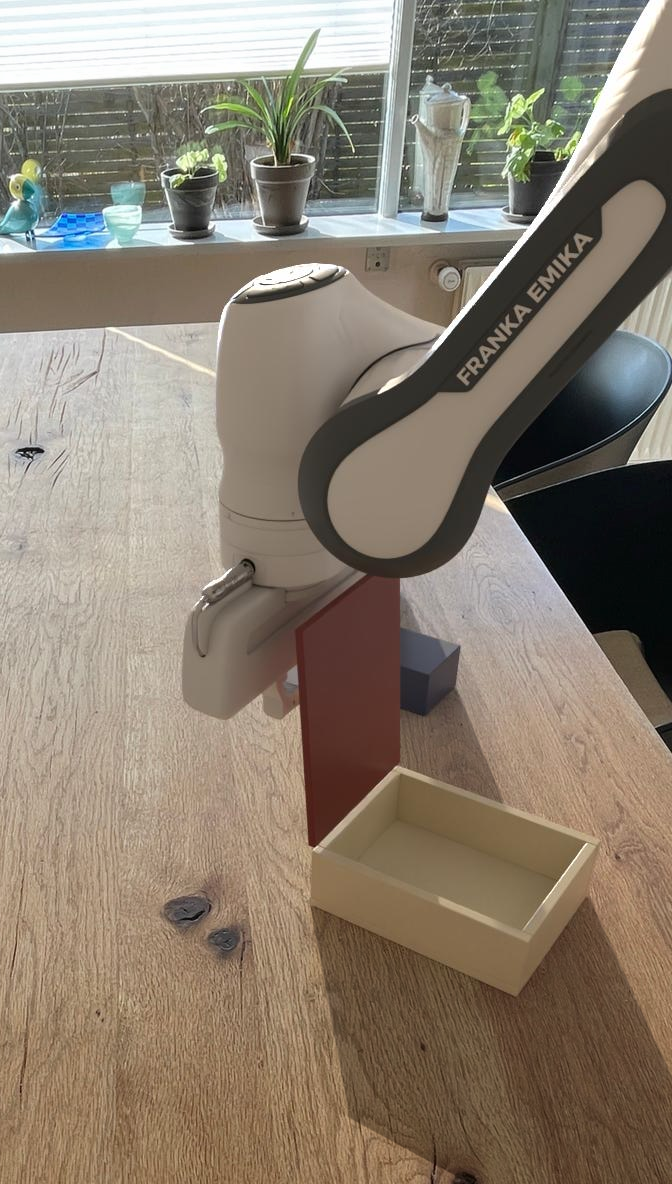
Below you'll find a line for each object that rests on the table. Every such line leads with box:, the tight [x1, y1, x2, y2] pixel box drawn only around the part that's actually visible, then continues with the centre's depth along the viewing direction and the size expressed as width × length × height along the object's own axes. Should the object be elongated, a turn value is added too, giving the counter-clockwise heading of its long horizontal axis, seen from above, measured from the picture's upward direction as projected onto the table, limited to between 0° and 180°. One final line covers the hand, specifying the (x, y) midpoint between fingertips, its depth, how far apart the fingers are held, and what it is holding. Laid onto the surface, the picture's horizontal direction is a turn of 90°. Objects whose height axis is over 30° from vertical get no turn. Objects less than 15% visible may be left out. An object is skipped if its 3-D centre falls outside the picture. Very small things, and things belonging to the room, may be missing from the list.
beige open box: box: [309, 765, 602, 998], centre depth 83 cm, size 17×13×5 cm
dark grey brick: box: [400, 626, 462, 717], centre depth 106 cm, size 10×6×4 cm, turn 53°
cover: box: [295, 574, 401, 849], centre depth 80 cm, size 17×13×1 cm
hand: (283, 708), depth 85 cm, fingers closed
